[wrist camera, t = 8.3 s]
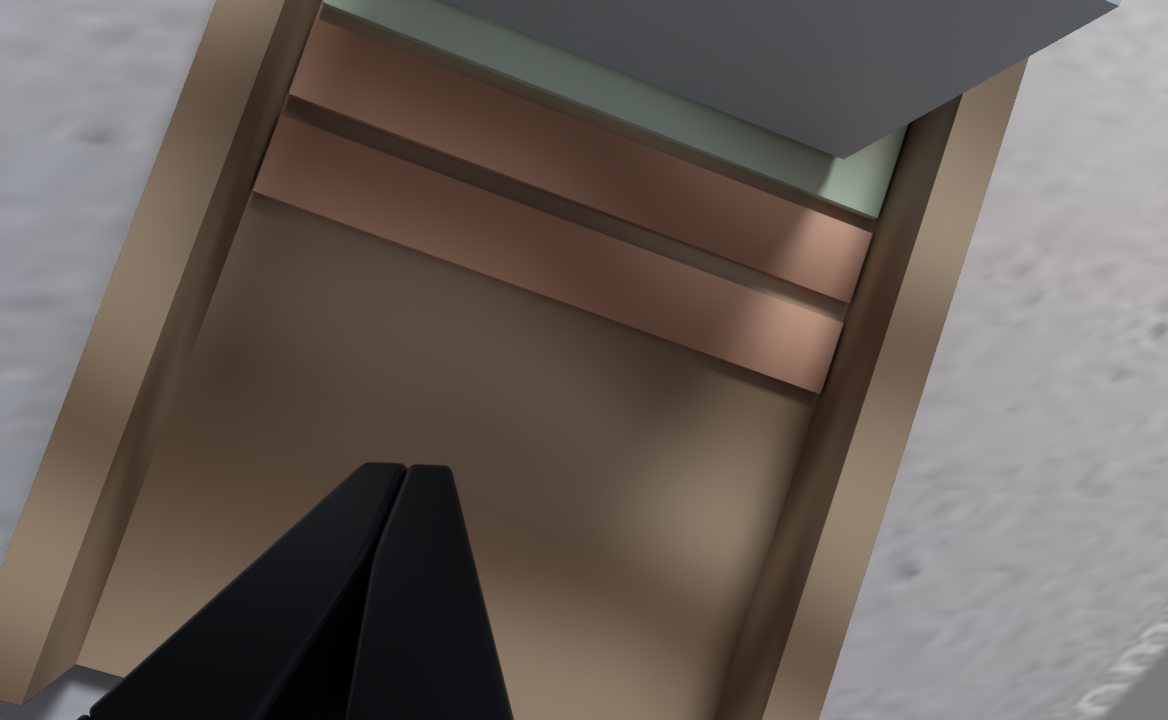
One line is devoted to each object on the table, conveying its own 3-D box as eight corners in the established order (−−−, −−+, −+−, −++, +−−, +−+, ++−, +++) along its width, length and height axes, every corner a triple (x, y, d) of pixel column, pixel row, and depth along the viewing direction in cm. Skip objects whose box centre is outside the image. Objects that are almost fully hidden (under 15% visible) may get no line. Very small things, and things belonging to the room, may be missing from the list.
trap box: (717, 838, 22) (793, 972, 17) (30, 641, 20) (-112, 729, 15) (1000, -42, 23) (1146, -154, 18) (387, -311, 21) (366, -518, 16)
